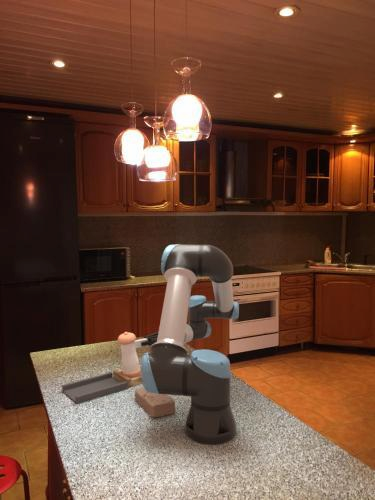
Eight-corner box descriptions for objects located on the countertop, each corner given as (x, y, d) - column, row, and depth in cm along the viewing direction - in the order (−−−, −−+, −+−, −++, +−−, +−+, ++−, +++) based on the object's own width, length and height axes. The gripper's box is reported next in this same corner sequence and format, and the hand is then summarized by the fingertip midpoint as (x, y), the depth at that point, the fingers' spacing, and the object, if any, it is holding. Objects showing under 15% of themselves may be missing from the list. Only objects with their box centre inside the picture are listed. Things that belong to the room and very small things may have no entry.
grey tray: (111, 377, 158) (111, 372, 158) (127, 388, 148) (127, 382, 148) (62, 391, 146) (62, 385, 146) (76, 404, 136) (76, 397, 136)
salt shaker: (132, 384, 152) (125, 337, 149) (119, 380, 156) (112, 334, 153) (145, 375, 158) (139, 330, 155) (132, 372, 162) (125, 327, 159)
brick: (133, 399, 140) (133, 386, 140) (155, 394, 144) (155, 382, 144) (152, 420, 126) (152, 406, 125) (176, 414, 130) (176, 400, 129)
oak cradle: (138, 371, 165) (137, 364, 165) (153, 379, 157) (153, 372, 156) (113, 378, 158) (112, 370, 158) (127, 387, 149) (127, 379, 149)
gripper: (189, 346, 167) (141, 358, 152) (171, 339, 177) (124, 350, 162) (189, 329, 167) (141, 339, 152) (171, 323, 177) (124, 332, 162)
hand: (132, 344), depth 157 cm, fingers closed
